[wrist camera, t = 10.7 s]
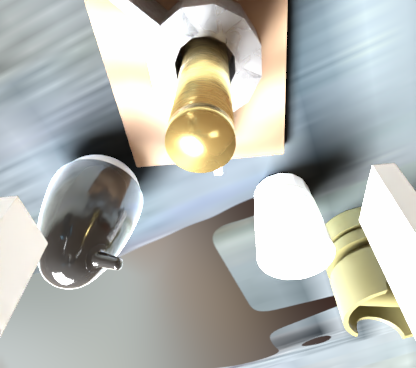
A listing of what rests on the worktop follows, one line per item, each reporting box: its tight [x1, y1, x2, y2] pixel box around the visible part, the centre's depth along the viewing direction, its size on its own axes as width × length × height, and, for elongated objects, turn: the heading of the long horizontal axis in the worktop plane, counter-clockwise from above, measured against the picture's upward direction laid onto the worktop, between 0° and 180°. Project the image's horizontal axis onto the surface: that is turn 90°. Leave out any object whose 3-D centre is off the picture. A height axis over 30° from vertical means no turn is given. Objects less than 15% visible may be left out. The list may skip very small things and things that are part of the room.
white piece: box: [109, 0, 262, 175], centre depth 28 cm, size 18×12×5 cm, turn 7°
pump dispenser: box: [37, 155, 143, 289], centre depth 34 cm, size 10×10×15 cm
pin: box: [165, 36, 236, 173], centre depth 23 cm, size 4×4×16 cm
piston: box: [325, 207, 414, 339], centre depth 41 cm, size 11×12×11 cm
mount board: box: [84, 0, 288, 167], centre depth 31 cm, size 20×16×2 cm
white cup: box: [254, 173, 335, 280], centre depth 38 cm, size 8×8×10 cm
